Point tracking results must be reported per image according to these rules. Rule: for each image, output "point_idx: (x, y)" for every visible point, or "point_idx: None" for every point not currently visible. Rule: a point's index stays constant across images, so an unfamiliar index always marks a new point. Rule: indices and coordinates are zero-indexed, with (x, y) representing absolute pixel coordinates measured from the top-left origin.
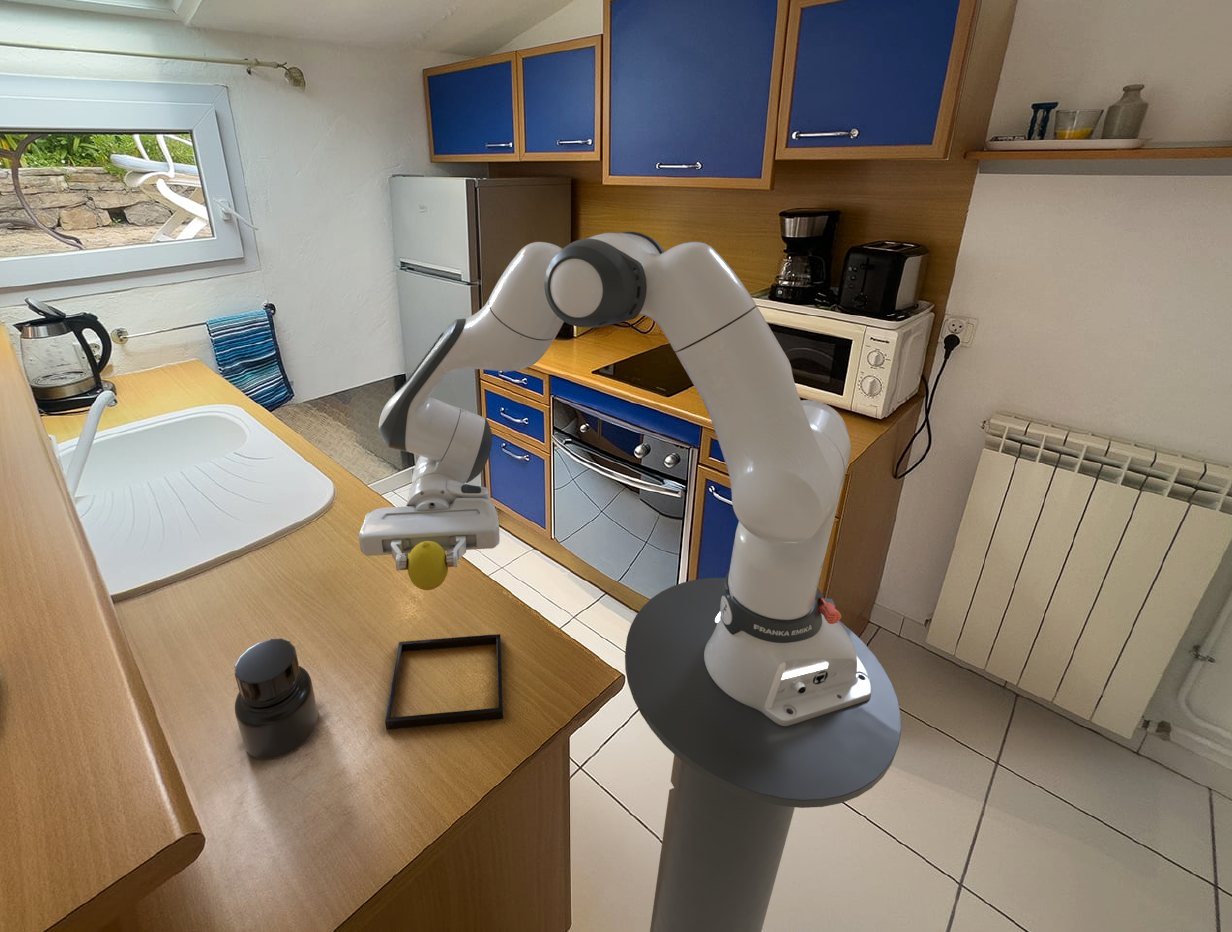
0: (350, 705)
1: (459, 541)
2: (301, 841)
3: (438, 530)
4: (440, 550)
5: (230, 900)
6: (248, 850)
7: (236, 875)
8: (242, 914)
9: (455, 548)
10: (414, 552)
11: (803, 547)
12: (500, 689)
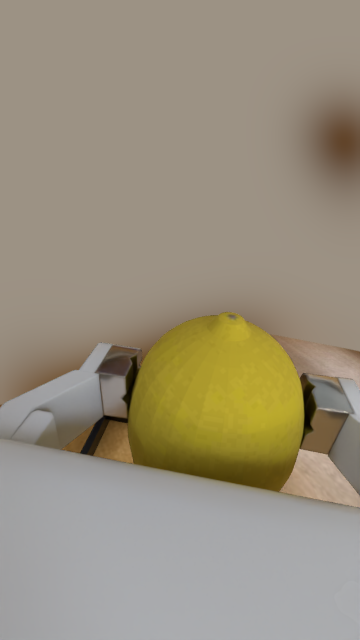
0: (327, 497)
1: (36, 413)
2: (307, 369)
3: (134, 487)
4: (159, 342)
5: (340, 353)
6: (350, 374)
7: (347, 363)
8: (326, 346)
9: (83, 377)
10: (276, 342)
11: None
12: (93, 431)
